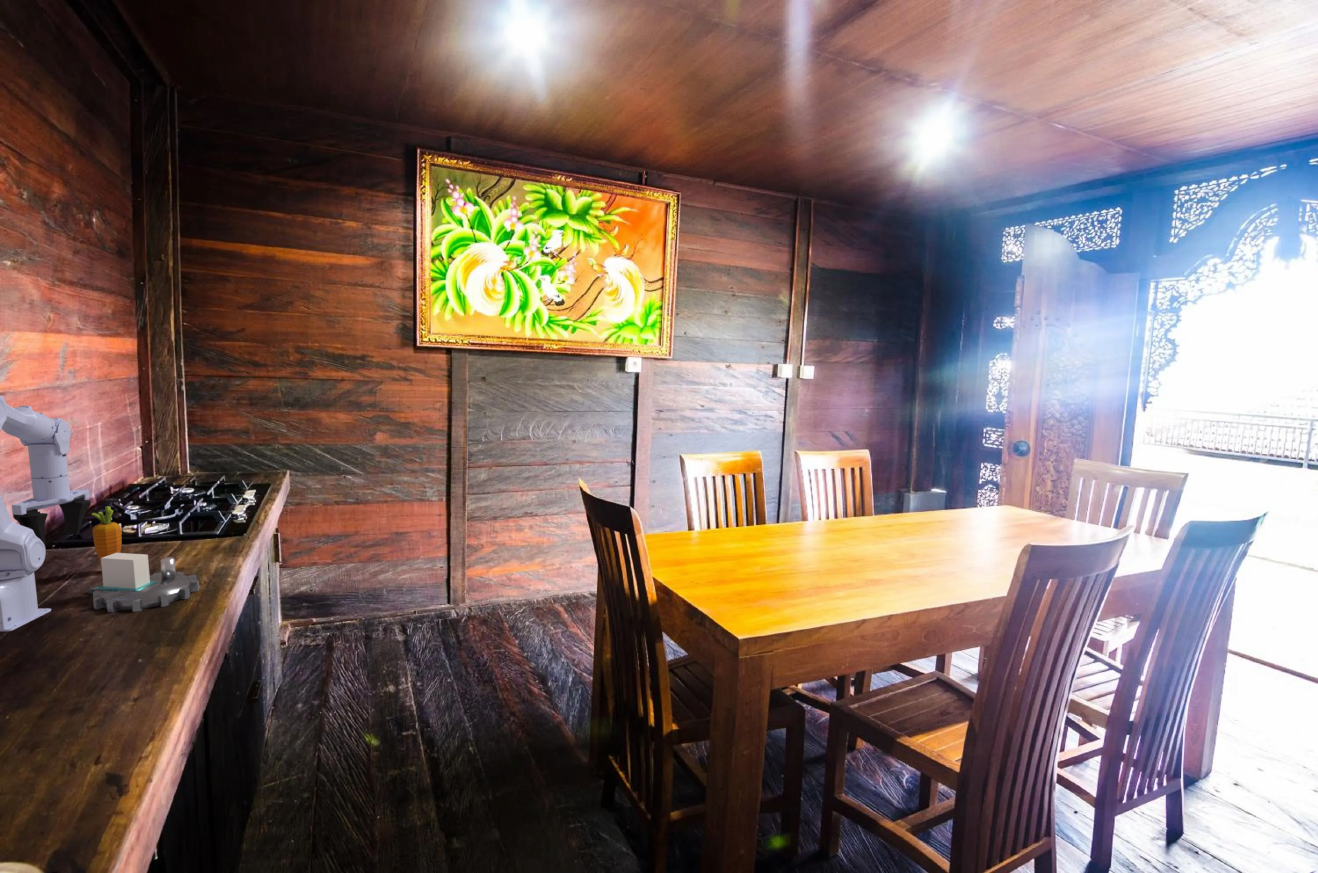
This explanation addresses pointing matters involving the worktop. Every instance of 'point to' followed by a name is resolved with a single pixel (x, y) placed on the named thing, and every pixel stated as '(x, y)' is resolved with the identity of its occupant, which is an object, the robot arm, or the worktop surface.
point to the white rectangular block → (125, 570)
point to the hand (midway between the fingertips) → (56, 539)
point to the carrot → (107, 535)
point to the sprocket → (148, 591)
